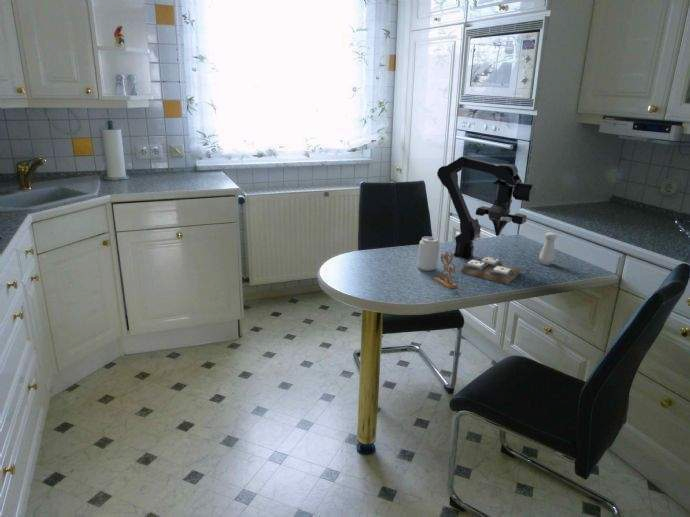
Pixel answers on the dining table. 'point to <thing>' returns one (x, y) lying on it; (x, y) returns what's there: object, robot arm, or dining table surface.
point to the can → (428, 253)
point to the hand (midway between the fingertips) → (497, 235)
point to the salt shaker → (548, 249)
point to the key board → (491, 271)
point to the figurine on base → (441, 278)
